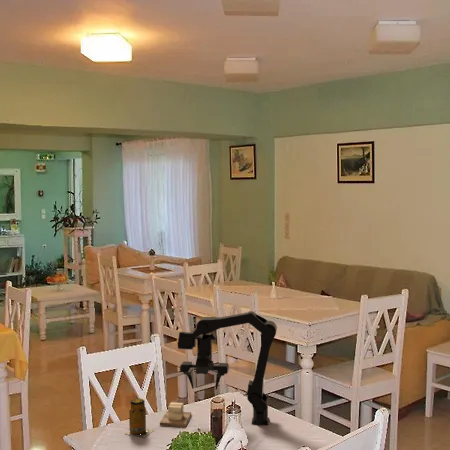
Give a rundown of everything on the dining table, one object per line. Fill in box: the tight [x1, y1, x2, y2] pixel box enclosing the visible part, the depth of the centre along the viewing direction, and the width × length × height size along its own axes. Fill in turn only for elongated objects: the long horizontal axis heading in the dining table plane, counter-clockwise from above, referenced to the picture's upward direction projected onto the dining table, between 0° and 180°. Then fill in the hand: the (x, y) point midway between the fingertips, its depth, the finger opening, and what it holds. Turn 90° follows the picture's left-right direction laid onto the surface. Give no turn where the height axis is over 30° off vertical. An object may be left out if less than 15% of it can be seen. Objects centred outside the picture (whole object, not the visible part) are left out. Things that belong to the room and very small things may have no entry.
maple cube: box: [167, 401, 185, 420], centre depth 237 cm, size 5×5×5 cm
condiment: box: [124, 398, 155, 438], centre depth 226 cm, size 7×8×12 cm
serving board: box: [159, 410, 192, 428], centre depth 238 cm, size 12×10×1 cm
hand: (204, 389), depth 238 cm, fingers open, 9 cm apart
